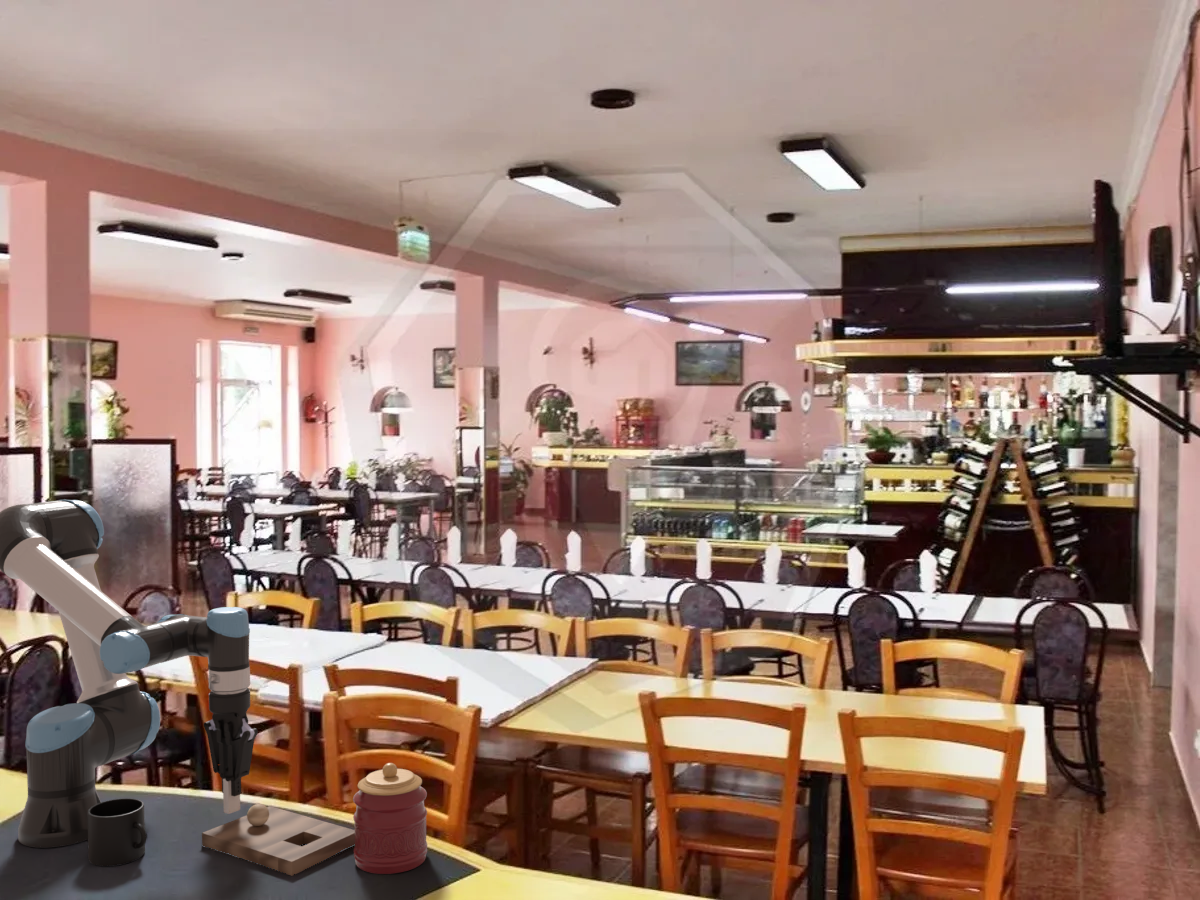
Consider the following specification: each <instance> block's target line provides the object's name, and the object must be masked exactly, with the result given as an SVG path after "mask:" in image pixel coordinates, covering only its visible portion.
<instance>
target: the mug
mask: <svg viewBox="0 0 1200 900" xmlns="http://www.w3.org/2000/svg"><path fill="white" fill-rule="evenodd" d="M87 819H88V840H87V849H88V852H87V853H88V857H87V858H88V862H89V863H90V864H91V865H93V866H96V867H117V866H122V865H125V864H129V863H132V862H134V861H136V860H139V859H141V858H142V857H143V855H144V854H145V852H146V843H147V832H146V830H145V826H146V824H145V821H146V819H145V803H144V801H142V800H140V799H137V798H125V797H124V798H115V799H110V800H105V801H101V803H98V804H96V805H94V806H92V807H91V808H90V809H89V810H88V812H87Z"/></svg>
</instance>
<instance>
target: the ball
mask: <svg viewBox="0 0 1200 900" xmlns="http://www.w3.org/2000/svg"><path fill="white" fill-rule="evenodd" d="M267 807H268V806H266V805H264V804H263V803H256V804H254V805H252V806H250V808H249V809H248V811H247V814H246V815H247V819H248V822H249V823H250V824H251V825H253V826H261V825H263V824H265V823H266V822H267V820H268V818H269V810H268V808H267Z"/></svg>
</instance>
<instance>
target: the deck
mask: <svg viewBox="0 0 1200 900" xmlns="http://www.w3.org/2000/svg"><path fill="white" fill-rule="evenodd" d="M266 807H267V808H268V810H269V818H268V820H267V822H266V823H265V824H263V825H261V826H253V825H251V824H250V823H249V822H248V819H247V814H246V815H244V816H241V817H239V818H237V819H233V820H231V821H229V822H227V823H223V824H222V825H221V824H220V825H219V826H216V827H213V828H211V829H208V830H206V831H203V832H202V833H201V846H202V845H203V846H205V847H204V848H206V847H209V848H212V849H216V850H218V851H222V852H225V853H229V854H231V855H234V856H237V857H239V858H243V859H245V860H249V861H252V862H255V863H258V864H261V865H264V866H266V867H265V868H267V867H269V868H268V869H270V868H272V869H271V870H273V869H275V870H274V871H276V870H278V871H277V872H279V871H280V872H279V873H282V872H283V873H282V874H285V873H286V874H285V875H289V876H292V877H293V876H295V875H297V874H299V873H301V872H303V871H305V869H306V870H308V869H310V868H312V867H314V866H315V864H316V865H318V864H320V863H322V862H324V861H323V860H325V859H327V858H329V857H331V856H333V855H335V854H336V853H338V852H340V851H341V850H343V849H345V848H348V847H350V846H352V845H354V844H355V829H351V828H348V827H345V826H343V825H342V826H341V825H337V824H335V823H330V822H327V821H324V820H320V819H318V818H317V819H316V818H314V817H310V816H306V815H303V814H299V813H296V812H292V811H289V810H287V809H286V810H285V809H282V808H278V807H275V806H272V805H269V806H266ZM302 844H307V845H302ZM300 845H302V846H300ZM203 846H202V847H203ZM209 848H208V849H209ZM212 849H211V850H212ZM218 851H217V852H218ZM335 856H336V855H335ZM333 857H334V856H333ZM239 858H238V859H239ZM331 858H332V857H331ZM329 859H330V858H329ZM245 860H244V861H245ZM327 860H328V859H327ZM249 861H248V862H249ZM321 861H322V862H321ZM325 861H326V860H325ZM252 862H251V863H252ZM319 862H320V863H319ZM255 863H254V864H255ZM317 863H318V864H317ZM258 864H257V865H258ZM261 865H260V866H261ZM313 865H314V866H313ZM264 866H263V867H264ZM311 866H312V867H311ZM309 867H310V868H309ZM307 868H308V869H307ZM294 874H295V875H294Z"/></svg>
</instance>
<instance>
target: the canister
mask: <svg viewBox="0 0 1200 900" xmlns="http://www.w3.org/2000/svg"><path fill="white" fill-rule="evenodd" d="M422 784H423V779H422V778H421V776H419V775H417V774H415V773H414V772H412V771H411V770H408V769H405V768H404V769H403V768H398V767H397V765H396V764H395V763H393V762H387V763H385V764H384V765H383V767H382V769H378V770H375V771H372V772H369V773H368V774H367V775H366V777H363V778H362V779H360V780H359V781H358V784H357V789H359V790H358V791H357V792H356V793H355V794H354V795H353V798H352V801H353V804H355V805H356V809H355V810H356V811H355V812H354V814H353V817H352V818H353V822H354V830H355V846H354V847H353V857H354V861H355V865H356V867H357V868H358V869H360V870H361V871H364V872H367V873H369V874H378V875H379V874H380V875H391V874H399V873H400V874H401V873H405V872H407V871H410V870H413V869H416V868H417V867H419V866H421V865H422V864H423V863H424V862H425V861H426V859H427V853H428V841H427V815H428V809H427V808H426V807H425V800H426V798H427V795H428V792H427V790H426V789H425V788H424V787H422V786H421V785H422Z"/></svg>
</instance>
